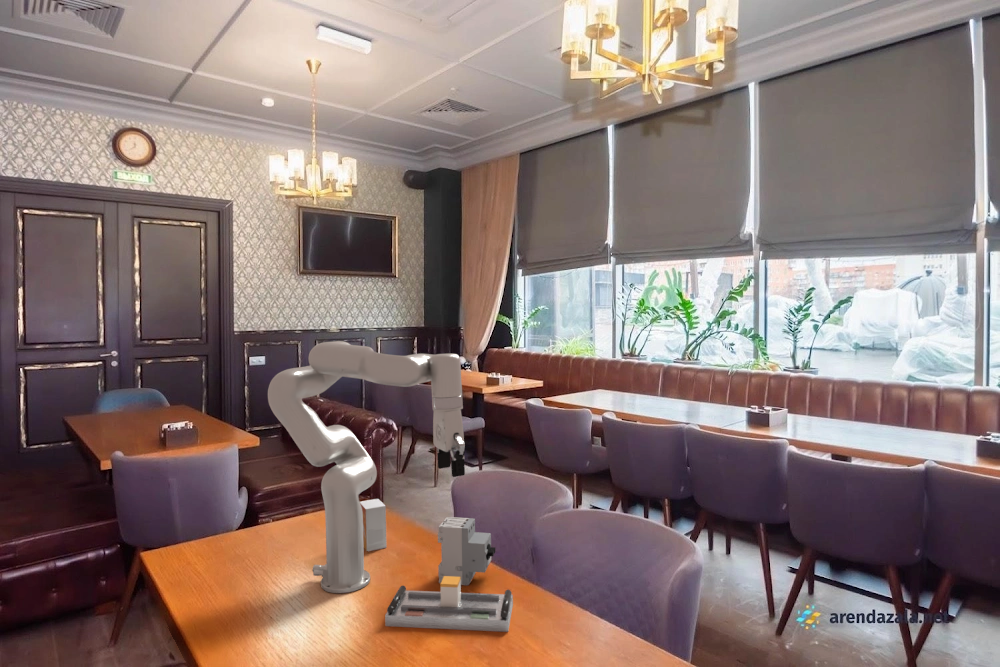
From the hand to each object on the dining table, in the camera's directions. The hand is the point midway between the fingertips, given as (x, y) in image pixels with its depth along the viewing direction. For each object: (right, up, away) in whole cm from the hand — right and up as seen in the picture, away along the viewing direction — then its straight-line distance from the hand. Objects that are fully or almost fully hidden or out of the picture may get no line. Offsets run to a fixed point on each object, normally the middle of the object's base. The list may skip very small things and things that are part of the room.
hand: (451, 471), depth 145 cm
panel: (+1, -32, -9) cm, 33 cm away
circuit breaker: (+4, -31, +10) cm, 33 cm away
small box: (-27, -31, +34) cm, 53 cm away
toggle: (+1, -29, -9) cm, 30 cm away
